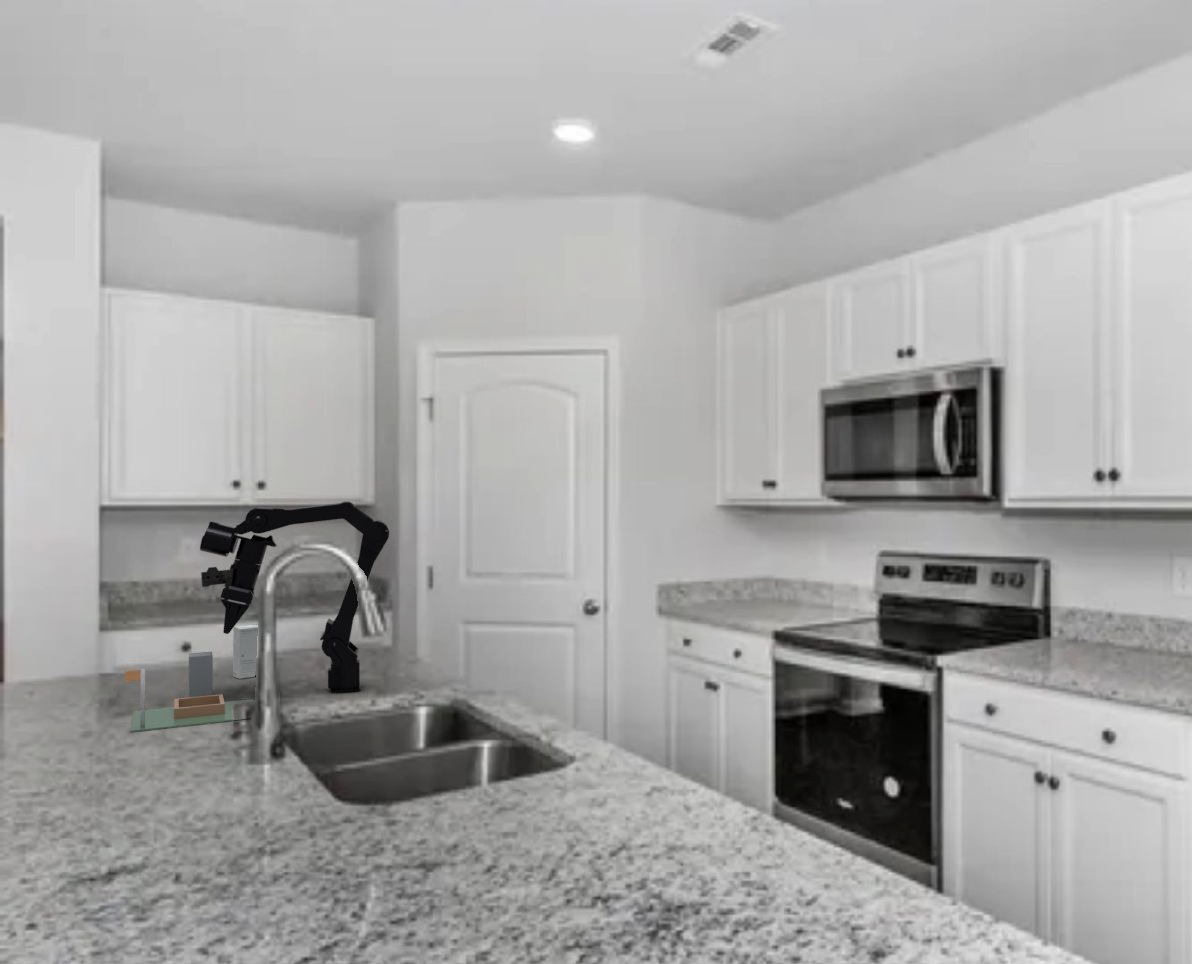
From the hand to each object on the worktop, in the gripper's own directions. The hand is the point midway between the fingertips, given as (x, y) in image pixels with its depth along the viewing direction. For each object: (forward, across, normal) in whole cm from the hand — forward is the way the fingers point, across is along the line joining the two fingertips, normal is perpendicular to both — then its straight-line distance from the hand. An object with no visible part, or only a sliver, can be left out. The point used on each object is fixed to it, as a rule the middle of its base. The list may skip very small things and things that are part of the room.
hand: (226, 631), depth 192 cm
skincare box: (+11, -23, +8) cm, 26 cm away
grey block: (+15, 0, -1) cm, 15 cm away
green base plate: (+16, +13, -1) cm, 21 cm away
